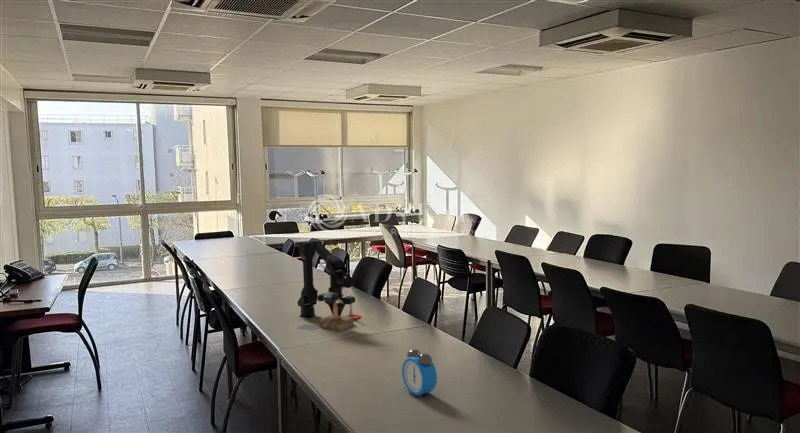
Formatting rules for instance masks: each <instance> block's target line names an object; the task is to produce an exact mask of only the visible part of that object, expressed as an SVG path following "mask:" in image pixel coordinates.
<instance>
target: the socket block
mask: <svg viewBox="0 0 800 433" xmlns="http://www.w3.org/2000/svg"><path fill="white" fill-rule="evenodd" d="M353 317H354V316H353ZM353 317H350V316H346V315H343V314H341V316H340V320H334V317H333V315H332V314H331V315H329V316H326V317H324V318H321V319H319V326H320V328H321V329H327V330H328V329H329V330H335V331H336V330H337V331H342V330H345V329H347V328H348V327H351V326H352V325H354V320H353ZM320 328H319V329H320Z"/></svg>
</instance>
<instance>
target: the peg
mask: <svg viewBox="0 0 800 433" xmlns="http://www.w3.org/2000/svg"><path fill="white" fill-rule="evenodd" d="M338 303H339V301H337V302H335V303H333V317H334V320H340V316H339V315H338V305H337V304H338Z"/></svg>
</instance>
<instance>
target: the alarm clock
mask: <svg viewBox="0 0 800 433" xmlns="http://www.w3.org/2000/svg"><path fill="white" fill-rule="evenodd" d="M406 357H407V358H406V359H404V361H403V363H402V367H401V368H402V369H401V373H402V374H401V375H402V380H403V383H404V385H405V387H406V389H407V390H408V392H409V393H411V394H412V395H414V396H419V398H422V395H424V394H427V393H430V392H432V391H434V390H435V388H436V386H437V383H438V375H437V371H436V367H435V365H434V362H433V357H432V356H431V355H430V354H428V353H423V352H422V353H421V352H420V350H419V349H416V348H414V349H413V348H411V349H410V350H409V351H407V354H406Z"/></svg>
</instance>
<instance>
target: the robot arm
mask: <svg viewBox="0 0 800 433" xmlns="http://www.w3.org/2000/svg"><path fill="white" fill-rule="evenodd" d="M298 252H299V253H298V254H299V256H300V257H301V259H302V270H303V274H302V276H303V288H302V290H301V292H300V297H299V299H298V300H297V306H298V307H300V315H299V316H298V317H299V318H305V319H310V318H313V317H316V314H315V310H316V309H315V305H317V303H318V302H324V303H325V304H326V305H328V308H329V310H330V312H331V315H333V303H335V302H336V301H337V302H339V303H338V304H337V305H338V315H339V316H341V315H342V313H343V311H344V308H345V306H346V305H349V306H350V304H352V305H353V304H354V303H356V298H355V296H354V295H352V296H350V295H346V296H345V297H344V293H343V289H344V288H345V289H350V288H352V286H353V285H354V278H353V277H352V276H351V274H350V273H348V269H347V268H346V265H345V263H344V261H343V259H341V258H340V257H339V256H335V255H334V254H333V253H331V251H329V249H328V248H326V246H325V245H324V244H323V243H322V241H321V240H312V241H308V242H301V243H300V244H299V245H298ZM315 254H317V255H318V256H319V257H320V258H321V259H322V260H323V261H324V262H325V267H326V269H328V273H327V276H329V287H328V291H327V292H326V293H325V292H323V293H321V294H319V293H318V292H319V291H318V289H316V288H315V286H314V267H313V266H314V265H313V263H314V262H313V259H314V257H315ZM318 294H319V295H318Z"/></svg>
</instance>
